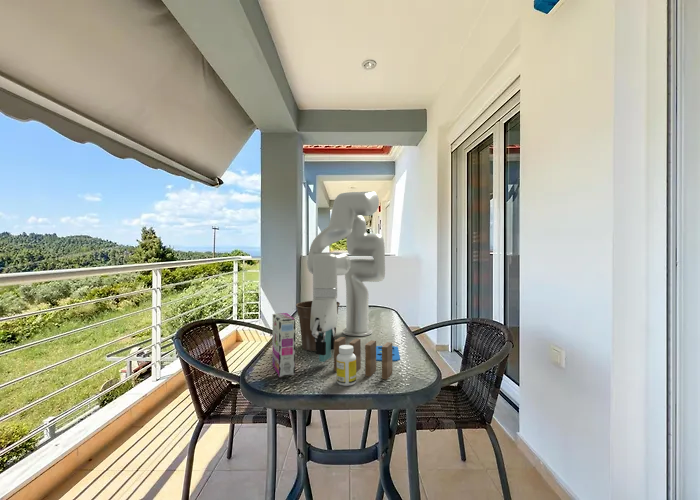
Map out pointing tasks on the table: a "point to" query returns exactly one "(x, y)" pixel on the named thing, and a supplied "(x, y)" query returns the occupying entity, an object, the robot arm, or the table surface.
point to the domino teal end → (328, 347)
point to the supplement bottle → (346, 366)
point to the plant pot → (307, 325)
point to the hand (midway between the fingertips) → (325, 351)
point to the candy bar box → (283, 344)
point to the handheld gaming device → (394, 353)
